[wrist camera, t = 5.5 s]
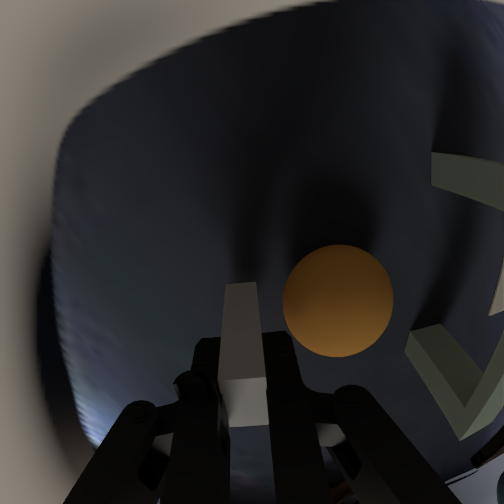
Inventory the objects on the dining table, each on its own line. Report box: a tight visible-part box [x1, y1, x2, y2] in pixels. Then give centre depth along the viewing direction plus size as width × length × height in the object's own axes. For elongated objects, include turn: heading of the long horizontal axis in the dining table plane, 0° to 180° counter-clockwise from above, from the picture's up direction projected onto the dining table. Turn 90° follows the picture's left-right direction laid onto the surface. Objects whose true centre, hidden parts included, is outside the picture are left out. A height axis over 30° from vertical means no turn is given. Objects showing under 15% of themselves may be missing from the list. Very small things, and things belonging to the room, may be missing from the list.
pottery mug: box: [330, 481, 360, 504], centre depth 26 cm, size 12×10×8 cm
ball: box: [283, 245, 393, 357], centre depth 14 cm, size 6×6×6 cm
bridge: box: [404, 152, 504, 441], centre depth 12 cm, size 3×14×9 cm, turn 5°
